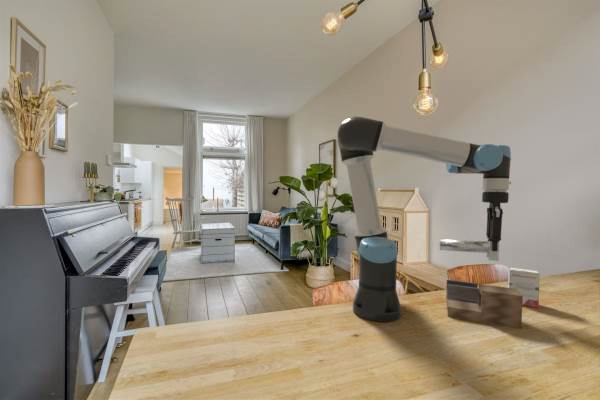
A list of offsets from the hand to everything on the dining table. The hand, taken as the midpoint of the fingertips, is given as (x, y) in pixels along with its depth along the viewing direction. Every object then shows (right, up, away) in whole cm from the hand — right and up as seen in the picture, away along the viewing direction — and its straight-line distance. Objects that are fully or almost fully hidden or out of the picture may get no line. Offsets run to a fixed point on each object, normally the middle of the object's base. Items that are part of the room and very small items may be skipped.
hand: (492, 258), depth 101 cm
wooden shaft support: (-10, -17, -10) cm, 21 cm away
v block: (-8, -16, +5) cm, 19 cm away
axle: (-7, +2, +3) cm, 8 cm away
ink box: (+13, -17, +3) cm, 21 cm away
